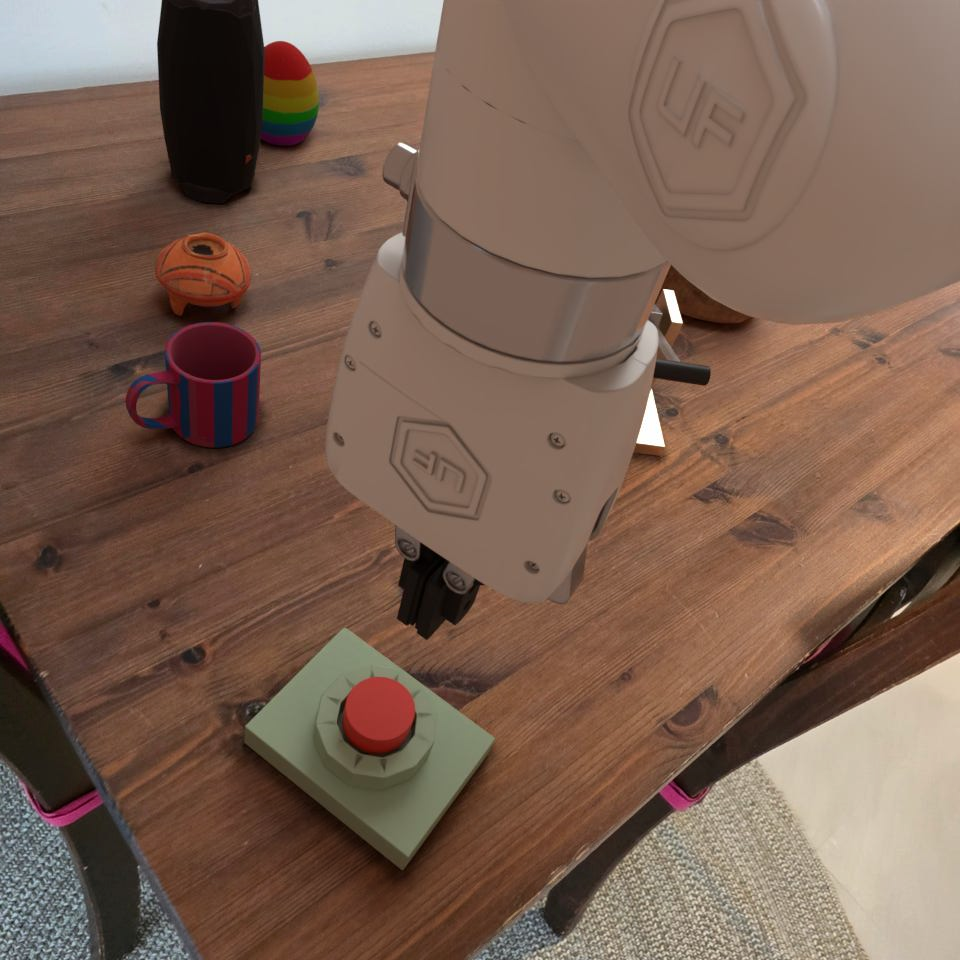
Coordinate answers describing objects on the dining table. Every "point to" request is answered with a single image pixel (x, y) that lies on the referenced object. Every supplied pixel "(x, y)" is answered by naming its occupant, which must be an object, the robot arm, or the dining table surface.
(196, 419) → the cup
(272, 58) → the decorative egg
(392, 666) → the switch box
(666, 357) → the switch lever
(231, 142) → the portable speaker
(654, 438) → the switch bracket
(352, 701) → the button
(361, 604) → the dining table surface
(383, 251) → the robot arm
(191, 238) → the pot
